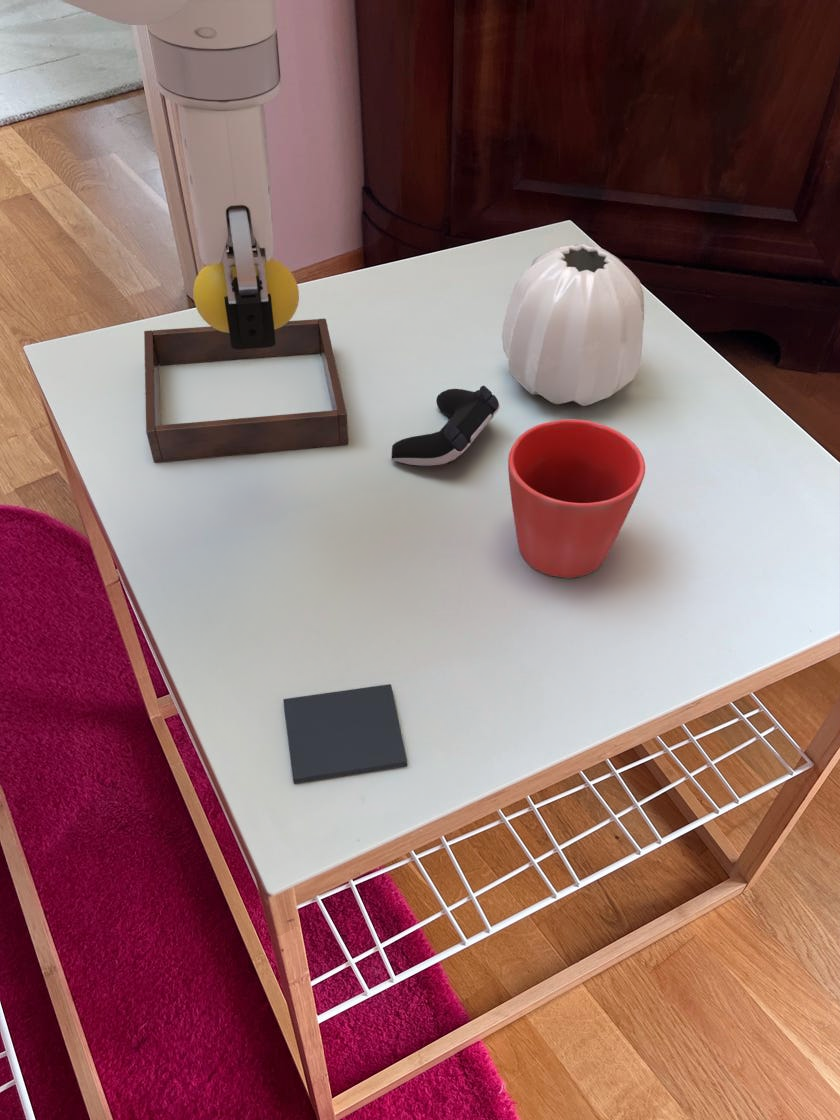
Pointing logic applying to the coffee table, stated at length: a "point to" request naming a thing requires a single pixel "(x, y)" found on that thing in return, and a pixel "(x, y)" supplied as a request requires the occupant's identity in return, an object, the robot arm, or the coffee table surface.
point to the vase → (575, 325)
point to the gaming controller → (450, 428)
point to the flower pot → (571, 493)
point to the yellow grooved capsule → (214, 290)
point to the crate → (242, 431)
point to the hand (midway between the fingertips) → (249, 321)
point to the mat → (343, 733)
